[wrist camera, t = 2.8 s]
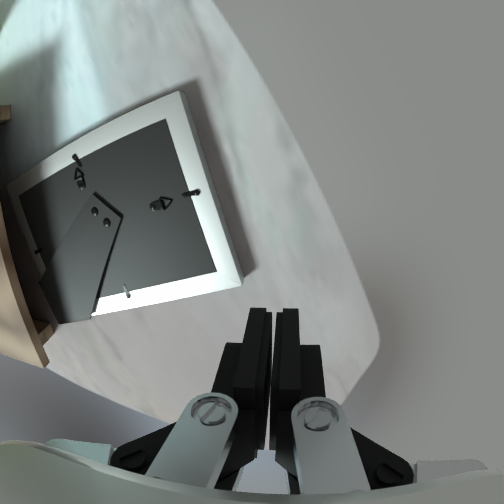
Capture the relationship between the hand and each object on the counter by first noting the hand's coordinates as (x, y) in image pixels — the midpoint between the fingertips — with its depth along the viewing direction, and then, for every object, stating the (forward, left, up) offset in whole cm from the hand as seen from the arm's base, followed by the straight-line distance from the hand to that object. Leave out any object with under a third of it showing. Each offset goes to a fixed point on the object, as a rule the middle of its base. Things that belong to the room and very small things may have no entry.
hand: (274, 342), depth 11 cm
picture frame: (0, -15, -15) cm, 21 cm away
